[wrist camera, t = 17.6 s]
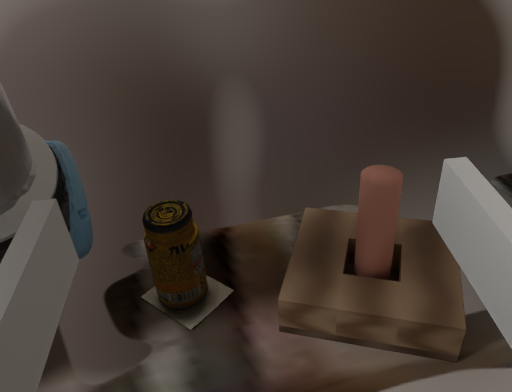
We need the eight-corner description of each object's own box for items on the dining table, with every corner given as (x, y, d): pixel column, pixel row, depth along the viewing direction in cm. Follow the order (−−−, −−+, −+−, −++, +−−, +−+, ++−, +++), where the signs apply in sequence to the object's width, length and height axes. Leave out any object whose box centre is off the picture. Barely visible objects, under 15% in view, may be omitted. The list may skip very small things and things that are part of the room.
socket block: (279, 331, 52) (277, 299, 49) (305, 237, 64) (305, 207, 61) (456, 362, 47) (466, 329, 44) (448, 254, 60) (455, 223, 57)
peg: (351, 294, 54) (359, 185, 45) (354, 270, 57) (362, 163, 48) (387, 300, 53) (402, 189, 44) (389, 275, 56) (403, 166, 47)
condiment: (184, 263, 62) (168, 187, 55) (234, 291, 57) (223, 211, 50) (141, 298, 57) (117, 219, 50) (191, 331, 52) (172, 250, 46)
